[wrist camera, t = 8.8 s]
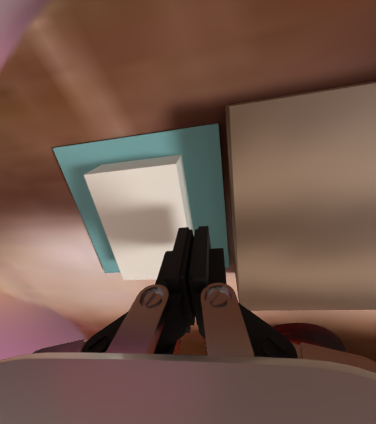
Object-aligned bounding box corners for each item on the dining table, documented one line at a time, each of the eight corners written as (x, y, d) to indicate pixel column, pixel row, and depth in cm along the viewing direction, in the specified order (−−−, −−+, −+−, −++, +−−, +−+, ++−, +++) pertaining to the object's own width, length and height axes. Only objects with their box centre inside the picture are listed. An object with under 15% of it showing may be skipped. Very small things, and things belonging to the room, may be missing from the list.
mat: (229, 264, 19) (229, 267, 19) (107, 269, 21) (105, 272, 21) (218, 123, 14) (218, 123, 14) (56, 147, 16) (52, 148, 15)
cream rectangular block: (123, 280, 17) (133, 260, 20) (195, 277, 16) (197, 257, 19) (83, 175, 13) (101, 164, 16) (175, 163, 12) (181, 154, 15)
